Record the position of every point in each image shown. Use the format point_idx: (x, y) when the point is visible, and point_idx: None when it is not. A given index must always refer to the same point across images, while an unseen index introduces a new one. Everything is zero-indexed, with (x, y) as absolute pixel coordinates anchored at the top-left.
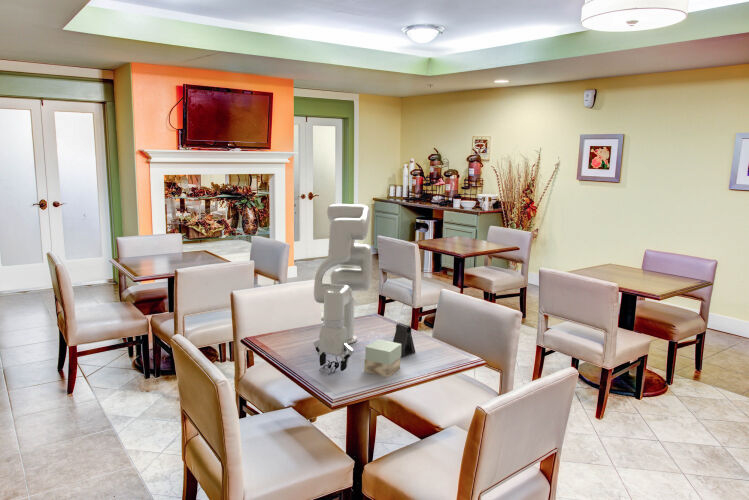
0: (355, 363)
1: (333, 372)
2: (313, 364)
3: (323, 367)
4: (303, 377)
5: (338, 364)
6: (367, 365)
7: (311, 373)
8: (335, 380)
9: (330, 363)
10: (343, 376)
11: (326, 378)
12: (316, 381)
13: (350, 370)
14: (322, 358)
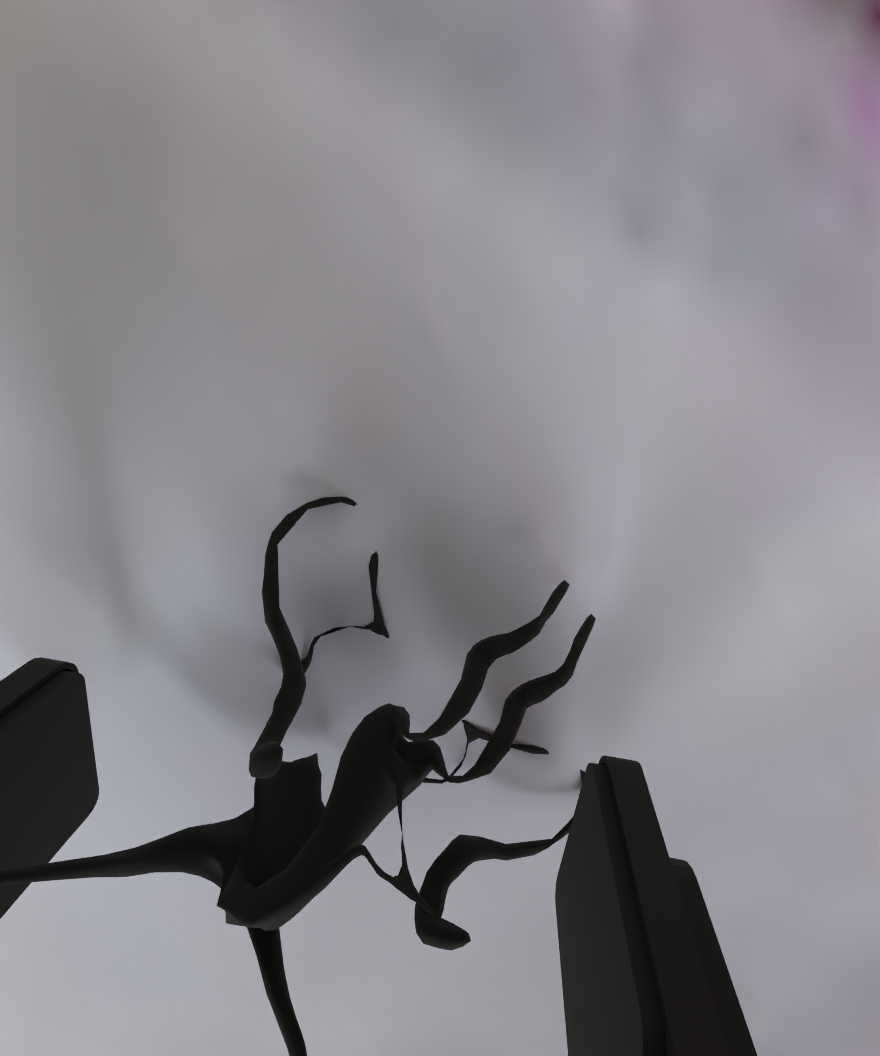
0: (201, 1027)
1: (301, 662)
2: (838, 861)
3: (510, 700)
4: (865, 89)
5: (158, 842)
6: None
7: (725, 448)
8: (45, 321)
9: (352, 838)
10: (48, 572)
11: (267, 333)
12: (390, 9)
13: (111, 820)
14: (614, 975)
